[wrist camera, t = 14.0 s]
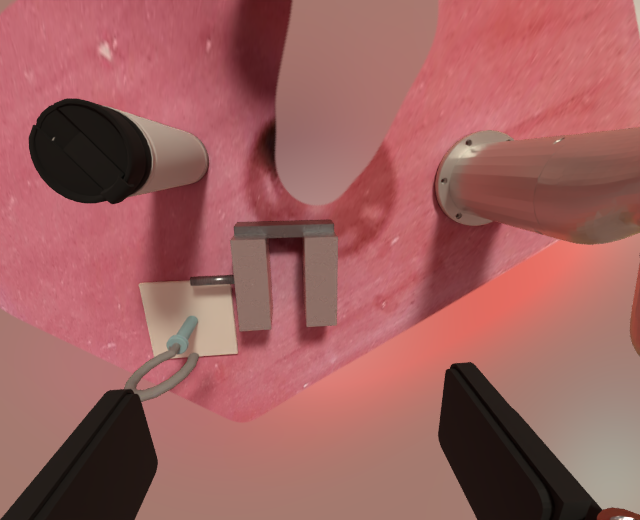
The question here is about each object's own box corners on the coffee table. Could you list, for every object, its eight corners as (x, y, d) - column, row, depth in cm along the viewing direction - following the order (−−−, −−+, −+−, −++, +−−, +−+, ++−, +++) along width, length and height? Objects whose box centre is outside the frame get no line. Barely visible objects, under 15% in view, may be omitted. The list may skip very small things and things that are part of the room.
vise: (330, 219, 41) (337, 228, 35) (330, 304, 45) (336, 325, 39) (190, 223, 39) (174, 233, 34) (203, 312, 43) (191, 334, 38)
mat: (230, 278, 42) (229, 280, 42) (238, 351, 46) (237, 353, 45) (140, 282, 41) (138, 284, 40) (156, 357, 45) (154, 359, 44)
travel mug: (186, 196, 38) (89, 229, 19) (144, 154, 36) (-10, 144, 17) (222, 163, 37) (157, 164, 19) (181, 119, 35) (61, 68, 17)
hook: (215, 304, 42) (179, 375, 28) (222, 318, 43) (191, 395, 29) (162, 321, 42) (100, 401, 28) (170, 335, 43) (114, 420, 29)
